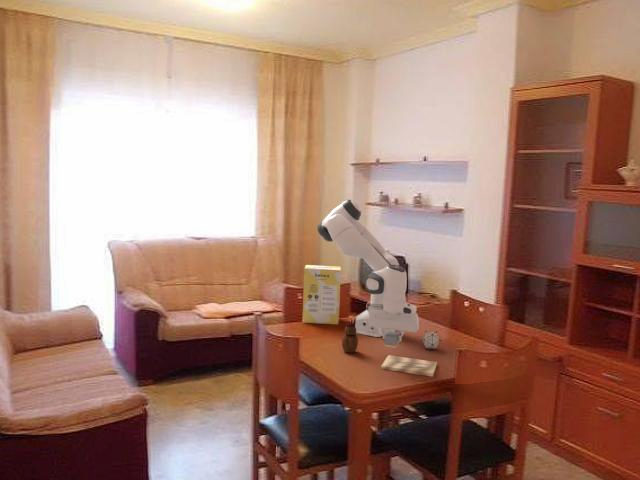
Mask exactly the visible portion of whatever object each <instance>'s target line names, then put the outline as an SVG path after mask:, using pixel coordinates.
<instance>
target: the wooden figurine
mask: <svg viewBox="0 0 640 480" xmlns="http://www.w3.org/2000/svg"><path fill="white" fill-rule="evenodd" d="M355 324H356V317H354V320H353V318H351V320H349V321H348V322H347V323H346V326H345V328H344V333H345V334H343V336H342V338H341V348H342V349H343V351H344V352H345V353H347V354H348V353H349V354H351V353H355V352H356V351H357V349H358V345H359V338H358V336H357V335H356V334H357V333H356V328H355Z"/></svg>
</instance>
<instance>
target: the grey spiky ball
mask: <svg viewBox="0 0 640 480" xmlns="http://www.w3.org/2000/svg"><path fill="white" fill-rule="evenodd" d="M437 333H438V331H437V330H436V331H434V332H433V331H427V330H424V334H423V337H422V339H420V341H421V342H422V344H424V347H425V348H424V350H425V351H426V350H427V349H435V350H436V351H437V350H438V346H439V344H440V342H441V341H442V339H440V337H439V335H438V334H437ZM442 342H443V341H442Z"/></svg>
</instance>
